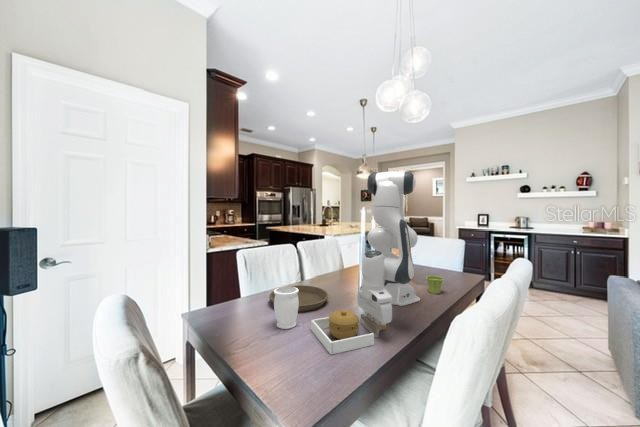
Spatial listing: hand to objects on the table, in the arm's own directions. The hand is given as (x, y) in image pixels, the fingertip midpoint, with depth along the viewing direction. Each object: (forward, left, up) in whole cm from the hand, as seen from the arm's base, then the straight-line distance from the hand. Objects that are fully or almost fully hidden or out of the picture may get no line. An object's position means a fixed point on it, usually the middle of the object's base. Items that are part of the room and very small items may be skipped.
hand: (373, 325), depth 107 cm
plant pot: (-60, -27, -2) cm, 66 cm away
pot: (+13, 0, -2) cm, 14 cm away
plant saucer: (+19, -42, -3) cm, 46 cm away
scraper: (-2, 0, -2) cm, 3 cm away
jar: (+32, -18, -2) cm, 36 cm away
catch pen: (+15, 0, -2) cm, 15 cm away
